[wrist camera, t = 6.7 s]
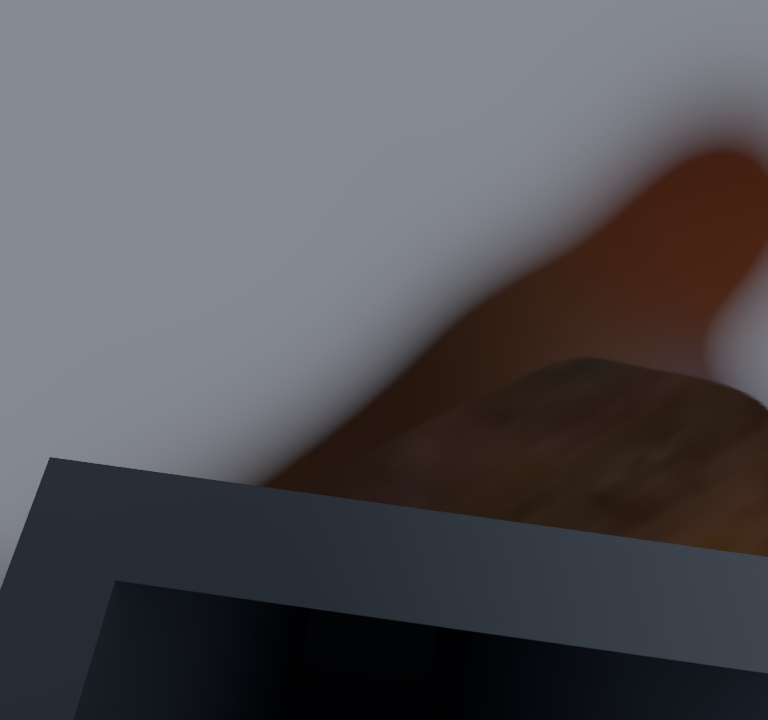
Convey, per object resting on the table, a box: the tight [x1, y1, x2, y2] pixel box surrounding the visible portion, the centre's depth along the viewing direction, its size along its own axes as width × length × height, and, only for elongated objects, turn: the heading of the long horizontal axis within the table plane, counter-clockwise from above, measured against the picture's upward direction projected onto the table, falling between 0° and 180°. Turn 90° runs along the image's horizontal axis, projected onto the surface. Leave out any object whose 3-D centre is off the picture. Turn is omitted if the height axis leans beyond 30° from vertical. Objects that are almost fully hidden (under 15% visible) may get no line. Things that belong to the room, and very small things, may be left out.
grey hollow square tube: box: [0, 457, 768, 720], centre depth 8 cm, size 5×5×13 cm
